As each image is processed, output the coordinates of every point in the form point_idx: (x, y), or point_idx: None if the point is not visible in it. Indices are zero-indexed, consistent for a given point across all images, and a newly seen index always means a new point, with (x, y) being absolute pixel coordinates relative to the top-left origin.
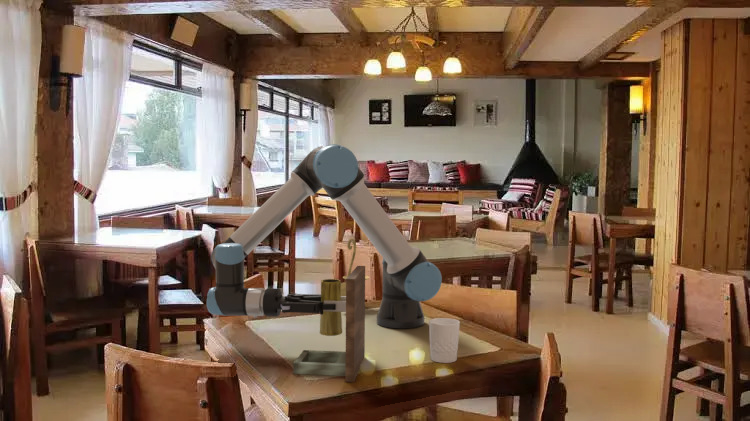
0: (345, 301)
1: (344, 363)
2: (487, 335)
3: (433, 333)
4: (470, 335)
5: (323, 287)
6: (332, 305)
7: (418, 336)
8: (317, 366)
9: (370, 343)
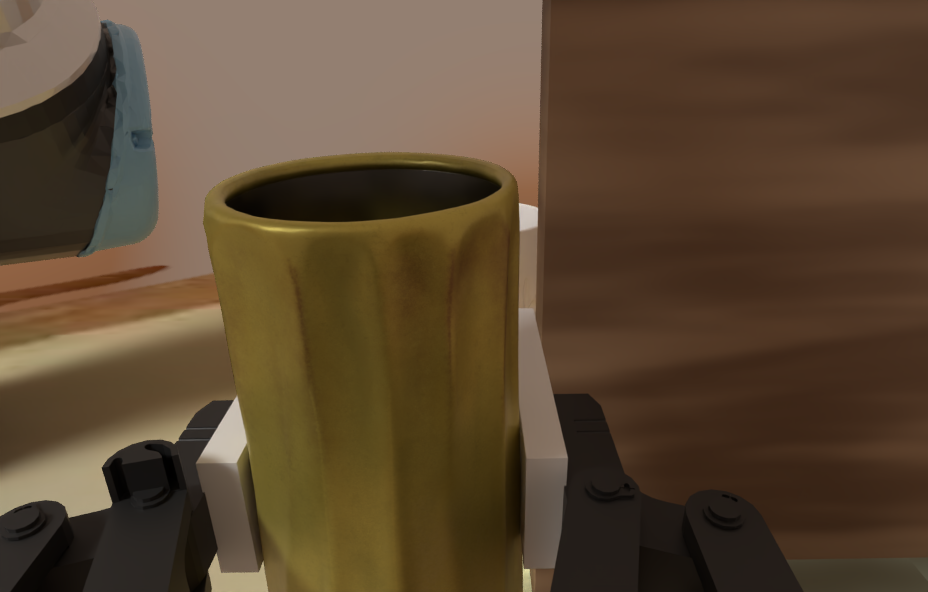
0: (530, 320)
1: (925, 581)
2: (203, 288)
3: (533, 265)
4: (189, 311)
5: (475, 302)
6: (601, 417)
7: (142, 410)
8: None
9: (217, 576)
